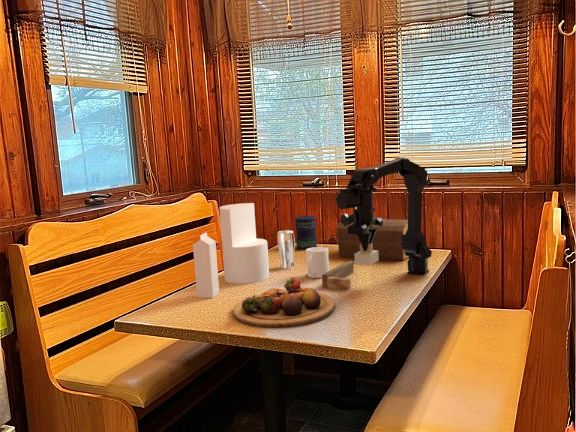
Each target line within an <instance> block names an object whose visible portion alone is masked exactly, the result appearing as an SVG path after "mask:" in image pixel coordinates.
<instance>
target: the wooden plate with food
mask: <svg viewBox="0 0 576 432" xmlns="http://www.w3.org/2000/svg"><path fill="white" fill-rule="evenodd" d="M283 286H284V289H282V288H279V287H278V288H276V287H272V288H269V289H267V290H264V292H262V293H258V294H253V295H251V296H248V297H246V298H244V299H242V300H239V302H238V303H236V304H235V305H234V307H233V309H232V317H233V318H234V320H236V321H237V322H239V323H240V324H241V323H242V324H244V325H247V326H250V327H255V328H264V329H287V328H288V329H289V328H296V327H302V326H308V325H311V324H315V323H317V322H320V321H323V320H325V319H326V318H327V317H329V316H330V315H332V313H334V311H335V308H336V303H335V301H334V299H333V298H332V297H331V296H329V295H327V294H326V293H322V292H318V291H317V290H316V289H314V288H312V287H309V288H308V287H306V286H305V287H302V285H301V280H300V278H298V277H297V276H294V277H291V278H290V280H288V279H287V280H286V281H285V284H284V285H283Z"/></svg>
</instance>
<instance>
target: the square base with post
mask: <svg viewBox="0 0 576 432" xmlns="http://www.w3.org/2000/svg"><path fill="white" fill-rule="evenodd" d="M354 256H355V257H354V265H364V266H365V265H368V266H372V265H374V264H375V263H377V262H379V260H380V259H379V255H378V251H376V250H373V244H371V243H369V245H368V248H367V251H363V248H362V245H361V244H360V251H359V252H357V253H355V254H354Z"/></svg>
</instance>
